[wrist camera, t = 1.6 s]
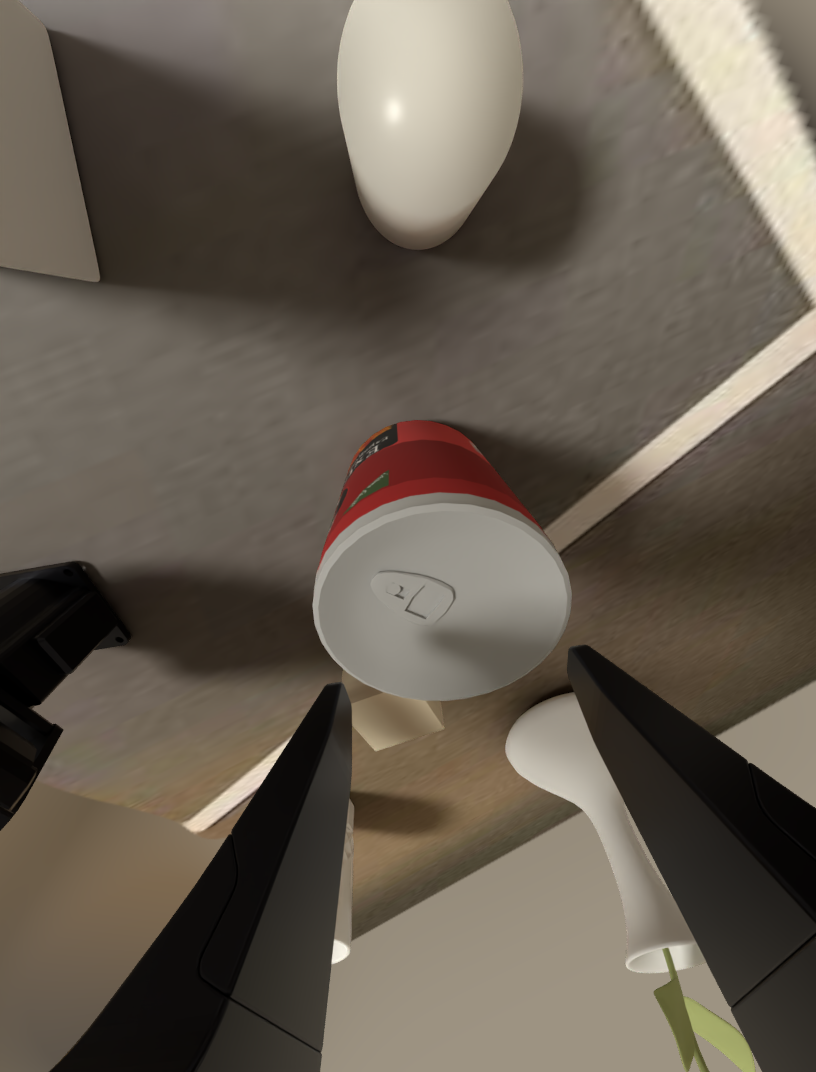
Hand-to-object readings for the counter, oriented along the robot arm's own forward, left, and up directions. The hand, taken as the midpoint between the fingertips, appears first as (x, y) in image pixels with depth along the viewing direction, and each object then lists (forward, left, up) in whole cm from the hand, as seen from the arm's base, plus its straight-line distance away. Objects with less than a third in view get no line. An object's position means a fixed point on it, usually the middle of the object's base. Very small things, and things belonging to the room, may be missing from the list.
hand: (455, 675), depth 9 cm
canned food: (0, 0, -13) cm, 13 cm away
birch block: (-4, -13, -13) cm, 19 cm away
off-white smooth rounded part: (+2, +13, -13) cm, 19 cm away
